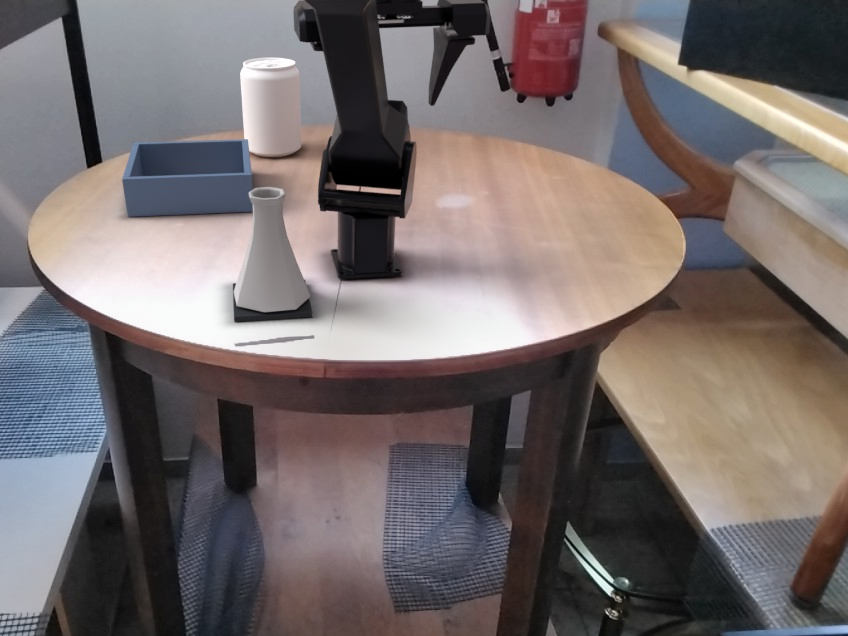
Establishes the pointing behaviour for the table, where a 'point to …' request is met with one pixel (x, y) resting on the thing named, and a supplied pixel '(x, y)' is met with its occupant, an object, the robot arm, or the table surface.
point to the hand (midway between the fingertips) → (388, 107)
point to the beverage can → (271, 106)
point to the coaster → (254, 315)
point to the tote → (188, 178)
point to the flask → (269, 259)
